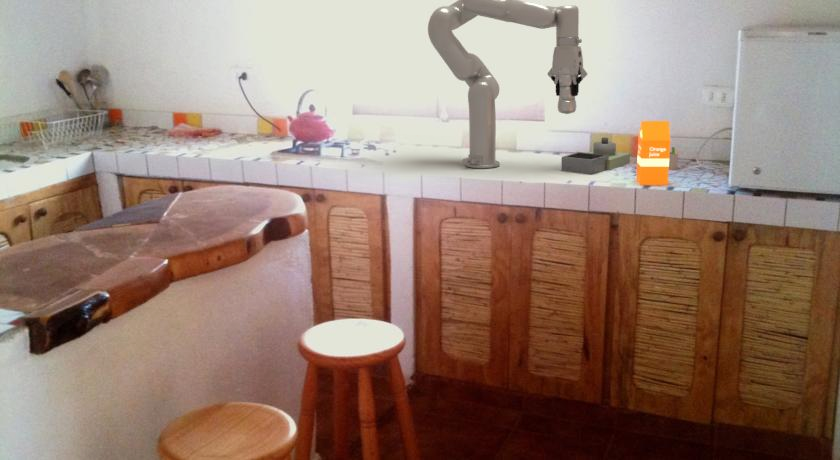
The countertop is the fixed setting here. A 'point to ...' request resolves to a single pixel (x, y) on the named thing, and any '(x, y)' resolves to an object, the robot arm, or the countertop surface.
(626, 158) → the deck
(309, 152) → the countertop surface
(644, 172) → the orange juice
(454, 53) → the robot arm
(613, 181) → the countertop surface
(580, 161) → the dark grey tray
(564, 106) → the plastic bottle
